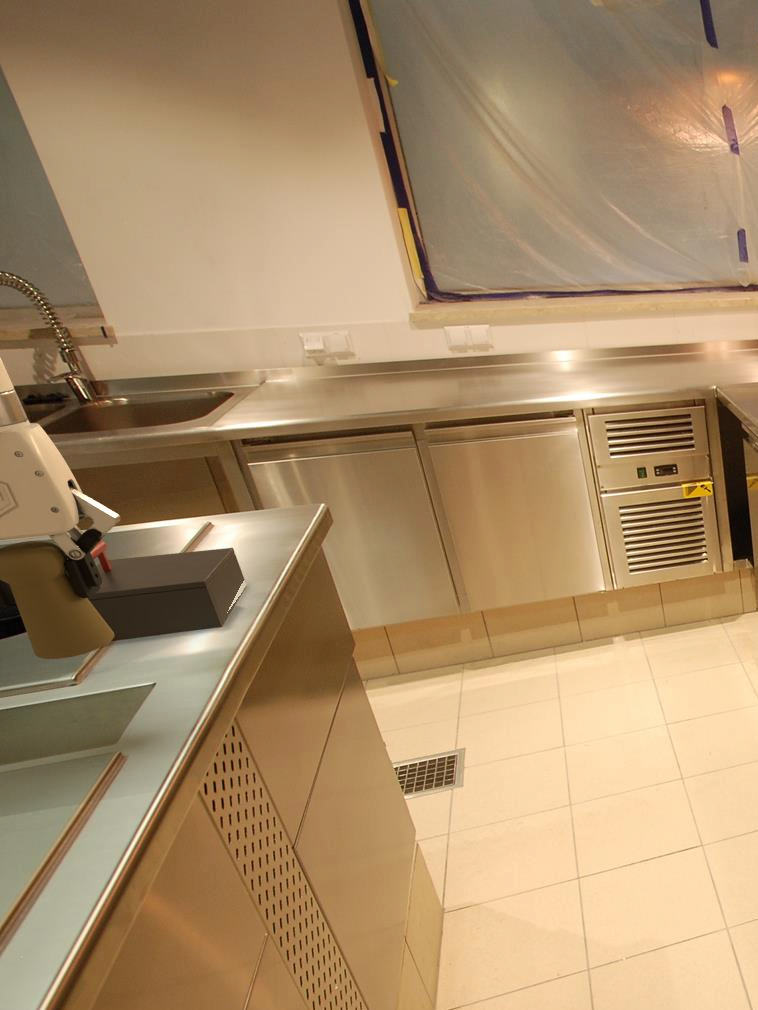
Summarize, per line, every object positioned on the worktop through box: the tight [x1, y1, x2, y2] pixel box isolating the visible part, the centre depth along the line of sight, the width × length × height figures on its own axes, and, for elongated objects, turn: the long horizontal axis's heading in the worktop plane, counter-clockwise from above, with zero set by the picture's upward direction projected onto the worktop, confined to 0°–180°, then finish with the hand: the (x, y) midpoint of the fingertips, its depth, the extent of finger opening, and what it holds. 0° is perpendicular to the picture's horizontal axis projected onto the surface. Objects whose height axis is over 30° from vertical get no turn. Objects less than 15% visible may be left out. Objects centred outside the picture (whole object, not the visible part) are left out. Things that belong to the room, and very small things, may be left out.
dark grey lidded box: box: [89, 552, 246, 642], centre depth 116 cm, size 14×15×7 cm
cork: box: [0, 540, 115, 660], centre depth 83 cm, size 6×6×11 cm
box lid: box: [88, 540, 236, 600], centre depth 113 cm, size 15×15×5 cm
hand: (51, 596), depth 84 cm, fingers closed on cork, 5 cm apart
